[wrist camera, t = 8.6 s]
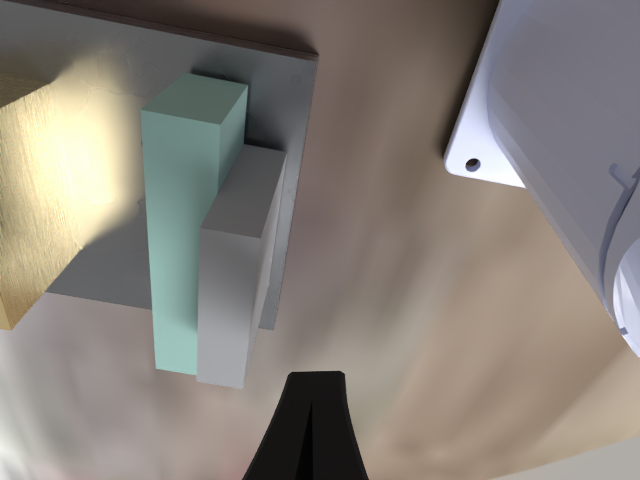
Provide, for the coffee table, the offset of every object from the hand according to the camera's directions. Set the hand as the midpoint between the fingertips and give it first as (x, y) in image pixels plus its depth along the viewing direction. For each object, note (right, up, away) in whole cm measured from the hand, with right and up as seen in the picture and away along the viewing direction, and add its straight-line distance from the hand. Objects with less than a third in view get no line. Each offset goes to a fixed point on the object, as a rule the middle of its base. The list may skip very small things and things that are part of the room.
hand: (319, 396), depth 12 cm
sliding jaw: (-3, +5, +5) cm, 8 cm away
